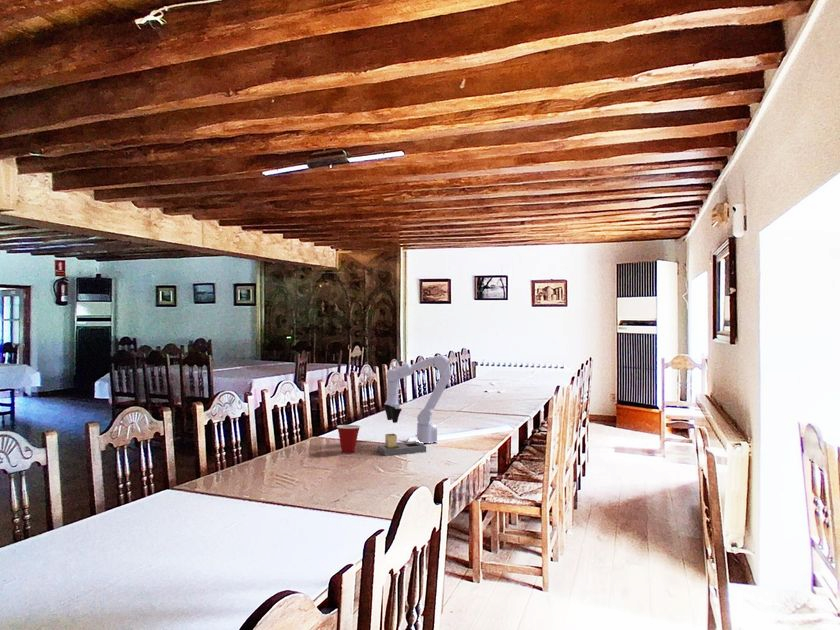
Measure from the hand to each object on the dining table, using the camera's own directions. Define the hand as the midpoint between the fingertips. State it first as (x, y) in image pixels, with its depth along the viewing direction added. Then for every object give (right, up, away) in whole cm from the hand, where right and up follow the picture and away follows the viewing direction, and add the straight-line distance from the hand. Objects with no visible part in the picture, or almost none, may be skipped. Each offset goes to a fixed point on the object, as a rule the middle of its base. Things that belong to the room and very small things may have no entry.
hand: (392, 421), depth 268 cm
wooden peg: (+1, -10, -23) cm, 25 cm away
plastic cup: (-19, -10, -22) cm, 31 cm away
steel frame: (+5, -10, -21) cm, 23 cm away
